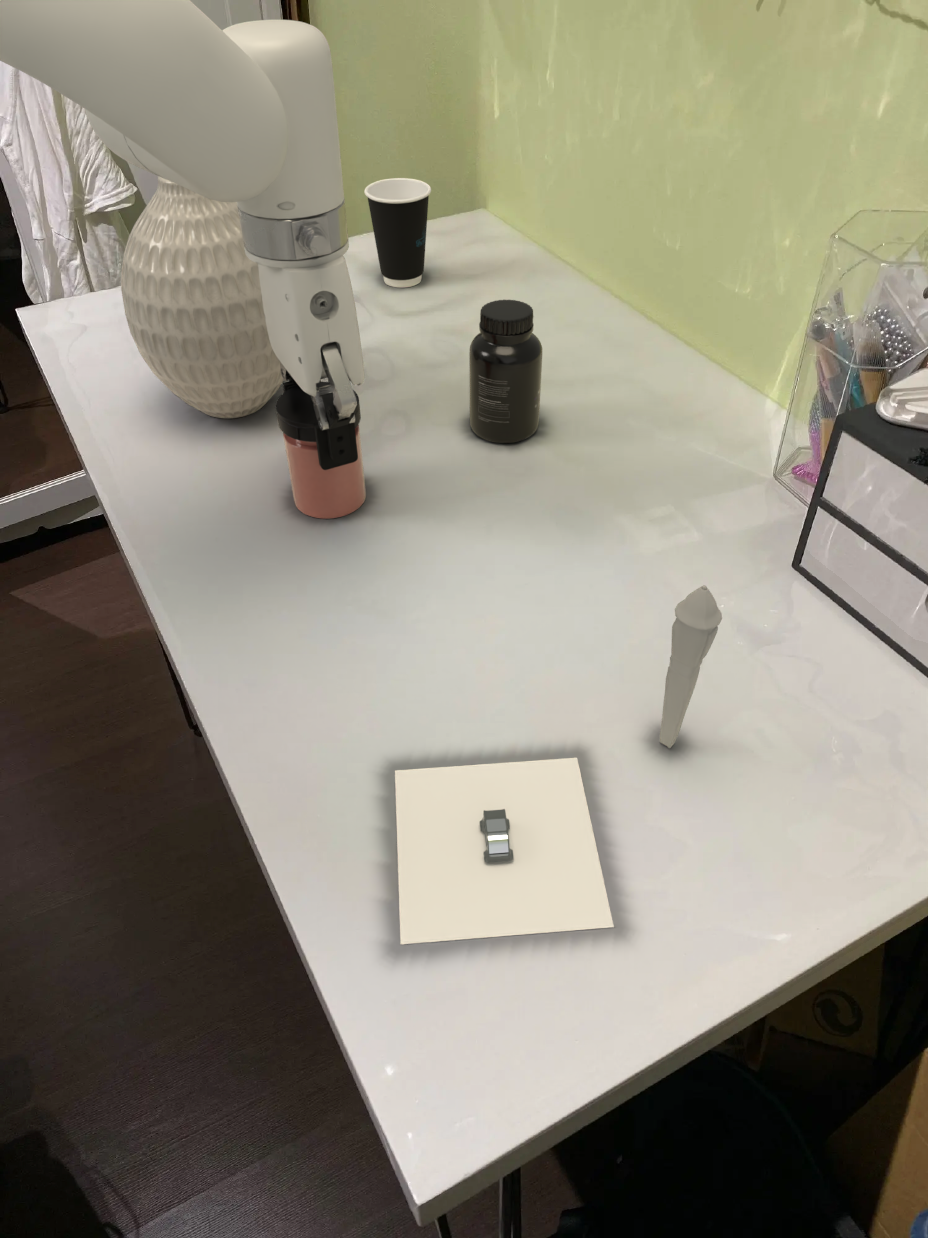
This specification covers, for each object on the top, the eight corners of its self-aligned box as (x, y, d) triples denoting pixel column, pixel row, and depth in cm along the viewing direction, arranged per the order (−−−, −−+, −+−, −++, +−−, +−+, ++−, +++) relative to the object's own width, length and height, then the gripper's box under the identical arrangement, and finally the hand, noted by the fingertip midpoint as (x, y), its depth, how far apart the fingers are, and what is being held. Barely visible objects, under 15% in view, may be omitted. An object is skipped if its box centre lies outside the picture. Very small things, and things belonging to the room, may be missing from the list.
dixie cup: (363, 272, 117) (356, 182, 109) (421, 263, 119) (417, 173, 111) (382, 296, 112) (376, 203, 104) (443, 286, 114) (440, 194, 106)
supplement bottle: (552, 431, 89) (560, 313, 81) (496, 453, 86) (498, 334, 78) (511, 402, 93) (514, 287, 85) (456, 422, 90) (454, 305, 82)
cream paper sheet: (400, 944, 50) (398, 931, 49) (394, 770, 59) (393, 756, 58) (613, 927, 51) (616, 913, 50) (577, 757, 60) (578, 743, 59)
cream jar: (299, 524, 78) (285, 440, 73) (290, 482, 83) (276, 400, 77) (372, 512, 80) (364, 428, 74) (359, 472, 84) (350, 390, 78)
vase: (289, 352, 101) (256, 134, 86) (332, 422, 90) (303, 186, 75) (141, 381, 97) (78, 156, 81) (168, 459, 86) (102, 216, 71)
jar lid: (336, 449, 72) (334, 431, 71) (262, 432, 74) (258, 414, 73) (374, 408, 77) (373, 390, 76) (304, 393, 79) (301, 375, 78)
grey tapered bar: (660, 722, 62) (694, 564, 52) (695, 742, 61) (737, 584, 51) (640, 744, 60) (672, 587, 51) (676, 765, 59) (715, 607, 50)
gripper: (391, 260, 61) (405, 482, 73) (303, 183, 72) (327, 386, 84) (284, 282, 58) (316, 508, 70) (210, 199, 69) (249, 406, 82)
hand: (322, 440), depth 77 cm, fingers closed on jar lid, 6 cm apart
